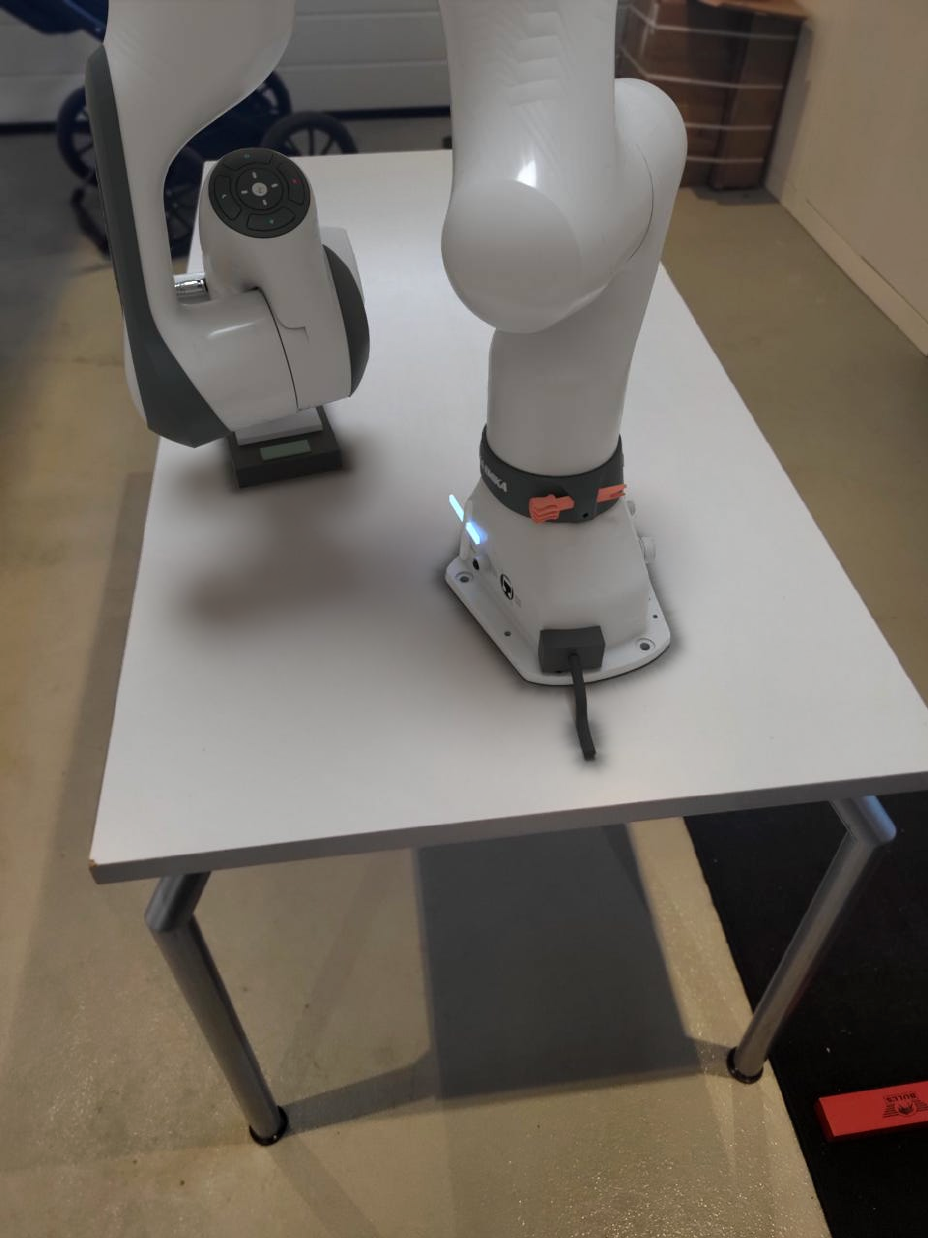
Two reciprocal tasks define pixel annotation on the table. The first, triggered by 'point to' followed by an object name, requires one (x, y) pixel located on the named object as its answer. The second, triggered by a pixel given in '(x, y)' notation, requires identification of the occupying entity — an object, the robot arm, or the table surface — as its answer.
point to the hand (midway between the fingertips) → (255, 326)
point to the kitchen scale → (284, 448)
